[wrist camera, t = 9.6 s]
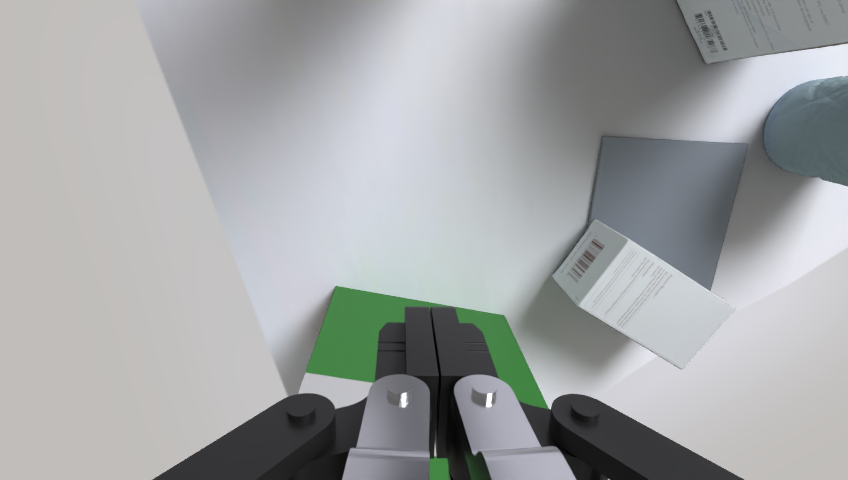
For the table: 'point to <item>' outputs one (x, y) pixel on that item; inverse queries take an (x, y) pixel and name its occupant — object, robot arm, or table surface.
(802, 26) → the hard drive box
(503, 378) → the hardback book
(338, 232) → the table surface
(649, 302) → the supplement box
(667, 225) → the mat
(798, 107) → the blue-grey plant pot
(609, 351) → the table surface
